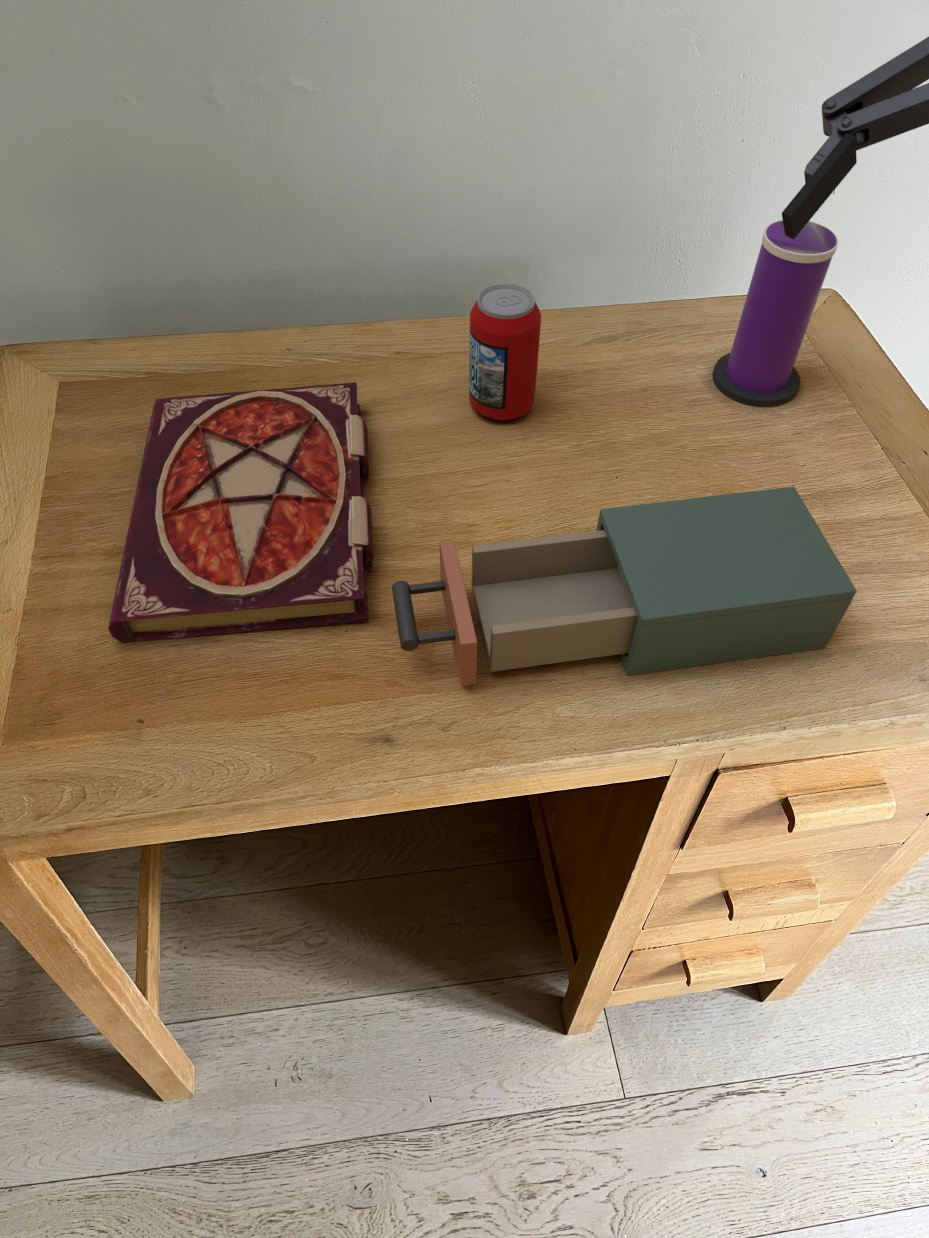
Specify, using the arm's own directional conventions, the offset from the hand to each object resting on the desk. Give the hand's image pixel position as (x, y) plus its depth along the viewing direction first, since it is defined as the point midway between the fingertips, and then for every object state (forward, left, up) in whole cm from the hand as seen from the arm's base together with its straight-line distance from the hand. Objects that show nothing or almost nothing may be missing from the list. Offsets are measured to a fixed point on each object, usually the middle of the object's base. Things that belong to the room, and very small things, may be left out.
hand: (870, 270), depth 57 cm
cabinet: (+1, +11, -25) cm, 28 cm away
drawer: (+13, +22, -25) cm, 35 cm away
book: (+40, +24, -26) cm, 53 cm away
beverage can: (+30, -2, -26) cm, 39 cm away
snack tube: (+10, -21, -25) cm, 34 cm away
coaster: (+10, -21, -25) cm, 35 cm away
